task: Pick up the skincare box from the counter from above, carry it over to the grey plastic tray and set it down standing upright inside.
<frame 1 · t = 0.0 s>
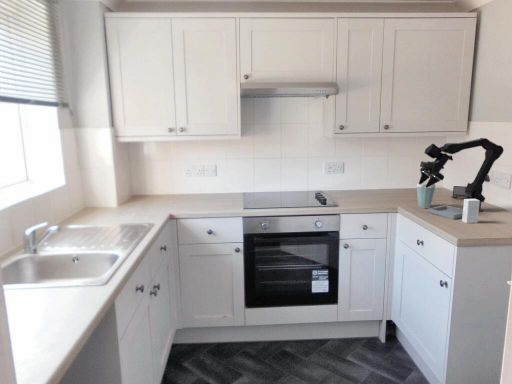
hand: (422, 185, 213), 15 cm above the worktop, tool tilted 35°, fingers open, 9 cm apart
skincare box: (469, 222, 193), on the worktop
disposable coffee cup: (424, 207, 225), on the worktop
tray: (449, 214, 208), on the worktop
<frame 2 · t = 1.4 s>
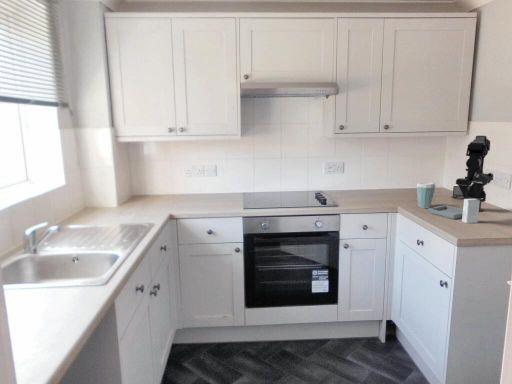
hand: (471, 197, 191), 13 cm above the worktop, tool pointing down, fingers open, 9 cm apart
nothing on the worktop moved.
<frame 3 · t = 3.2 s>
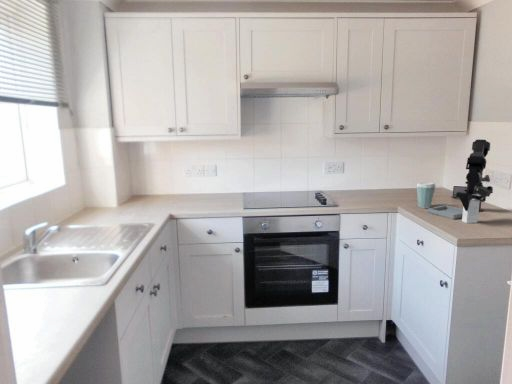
hand: (470, 209, 192), 7 cm above the worktop, tool pointing down, fingers closed on skincare box, 7 cm apart
skincare box: (469, 222, 193), on the worktop, touching gripper
everything else where it was.
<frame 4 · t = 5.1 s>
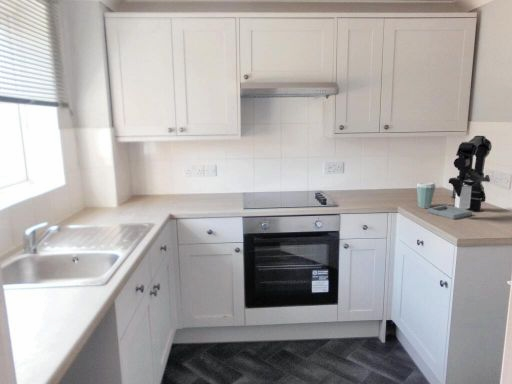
hand: (463, 195, 197), 13 cm above the worktop, tool pointing down, fingers closed on skincare box, 7 cm apart
skincare box: (461, 207, 199), point 6 cm above the worktop, touching gripper
everything else where it was.
when the fingers open (8 cm above the worktop, at t = 7.5 s): skincare box drops 1 cm, resting on tray.
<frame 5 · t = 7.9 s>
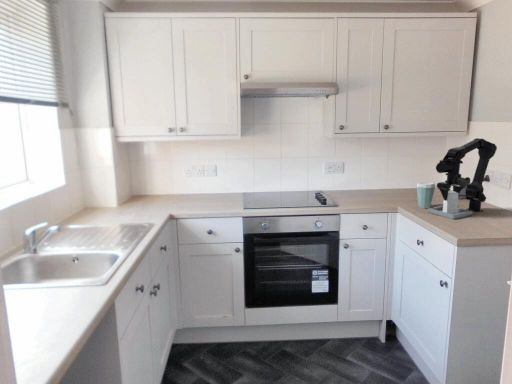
hand: (450, 199, 207), 8 cm above the worktop, tool pointing down, fingers open, 9 cm apart
skincare box: (449, 213, 208), resting on tray
everything else where it was.
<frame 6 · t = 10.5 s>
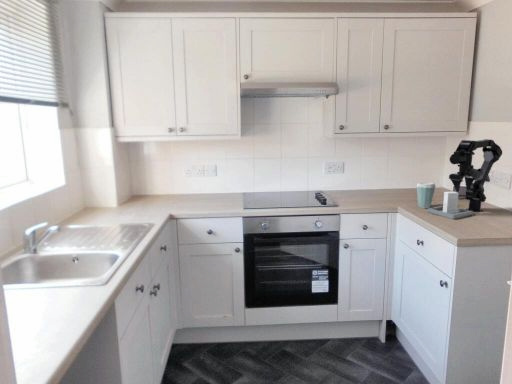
hand: (462, 190, 207), 13 cm above the worktop, tool pointing down, fingers open, 9 cm apart
nothing on the worktop moved.
at the end: skincare box inside the target area on the tray (0.1 cm from its centre), point 0.4 cm above the tray's base; skincare box tilted 0°; the gripper is holding nothing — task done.
